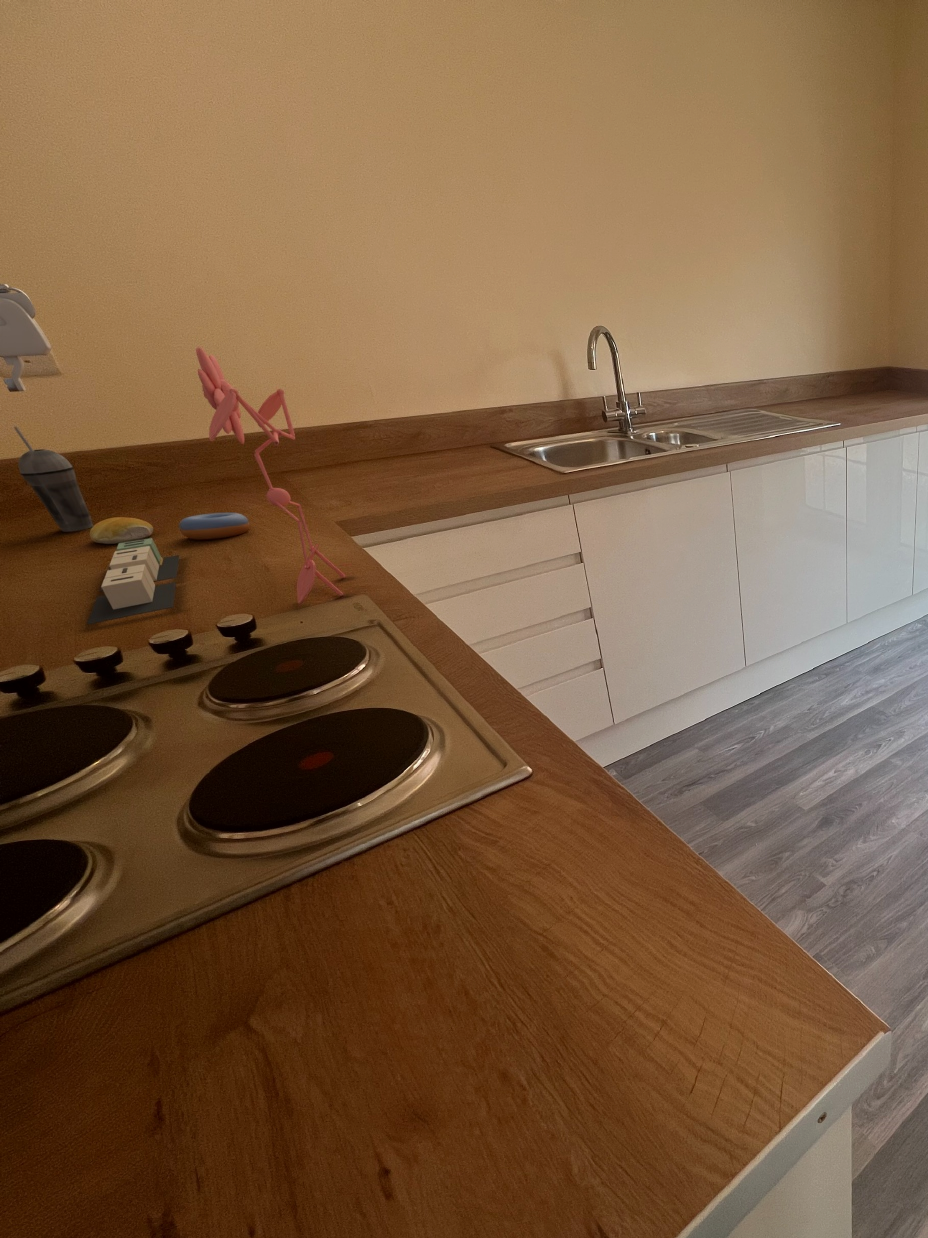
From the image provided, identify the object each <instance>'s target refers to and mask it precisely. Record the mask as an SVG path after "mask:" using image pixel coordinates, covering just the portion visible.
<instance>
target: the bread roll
mask: <svg viewBox="0 0 928 1238" xmlns="http://www.w3.org/2000/svg"><path fill="white" fill-rule="evenodd" d="M153 532H154V527H153V525H152V524H151V523H149V521H146V520H143V519H139V518H136V517H126V516H125V517H124V516H117V517H110V518H106V519H103V520H101V521H98V522H97V523H95V524H93V527H91V528H90V530H89V537H90V539H91V541H93V542H94V543H97V544H104V545H105V544H106V545H116V544H117V545H118V544H119V543H124V542H130V541H137V540H143V539H147V538H148V537H150V536H151V535H152V534H153Z"/></svg>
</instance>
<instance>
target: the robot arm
mask: <svg viewBox="0 0 928 1238" xmlns="http://www.w3.org/2000/svg"><path fill="white" fill-rule="evenodd" d="M11 291H12V292H11ZM36 314H37V312H36V308H35V306H34V304H33V302H32V300H31V298H30V297H29V296H28V295H27V294H26V293H25V292H24V291H22V290H20V289H19V288H16V287H12V286H9V285H8V284H6V283H0V358H3V360H4V362H5V364H6V365H7V366H13V367H12V372H11V376H10V377H5V378H3V379H2V381H3V383H4V384H5V385H6V388H7V390H8V391H9V392H10V393H15V392H17V393H18V392H26V391H27V389H26V386H25V385H24V383H23V380H22V376H23V375H22V374H23V371H24V367H25V362H24V360H23V359H22V357H33V356H35V357H37V356H47V355H49V353H50V352H51V350H52V345H51V343H50V341H49V339H48V337H47V336H46V334H45V333H44V331H43V329H42V328H41V326H40V325H39V323H38V322H37V320H36V318H35V317H36Z"/></svg>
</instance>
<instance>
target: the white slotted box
mask: <svg viewBox="0 0 928 1238" xmlns="http://www.w3.org/2000/svg"><path fill="white" fill-rule="evenodd" d="M104 578H105V577H104ZM101 587H102V589H103V591H102V592H103V593H104V595H106V597H107V599H108V600H109V602H110V604H111V606H112V608H113V609H119V608H124V607H129V606H134V605H139V604H144V603H150V602H152V600H153V595H154V593H153V591H152V589H151V587H150V585H149V583H148V581H147V579H146V577H145V575H144V573H143V572H140V573H134V574H128V575H122V576H117V577H111V578H105V579H103V581H102V583H101V586H100V588H101Z"/></svg>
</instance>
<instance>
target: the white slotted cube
mask: <svg viewBox="0 0 928 1238" xmlns="http://www.w3.org/2000/svg"><path fill="white" fill-rule="evenodd" d="M107 570H108V569H107ZM140 572H143V573H144V575H145V577H146V579H147V581H148V583H149V585H150V587H151V589H152V591H153V593H154V589H155V586H156V584H155V582H153V580H152V578H151V576H150V574H149V572H148V570H147V568H146V566H145V564H143V565H137V566H131V567H125V568H119V569H113V570H108V571H106V573H105V575H104V578H111V577H117V576H122V575H128V574H134V573H140Z"/></svg>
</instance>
